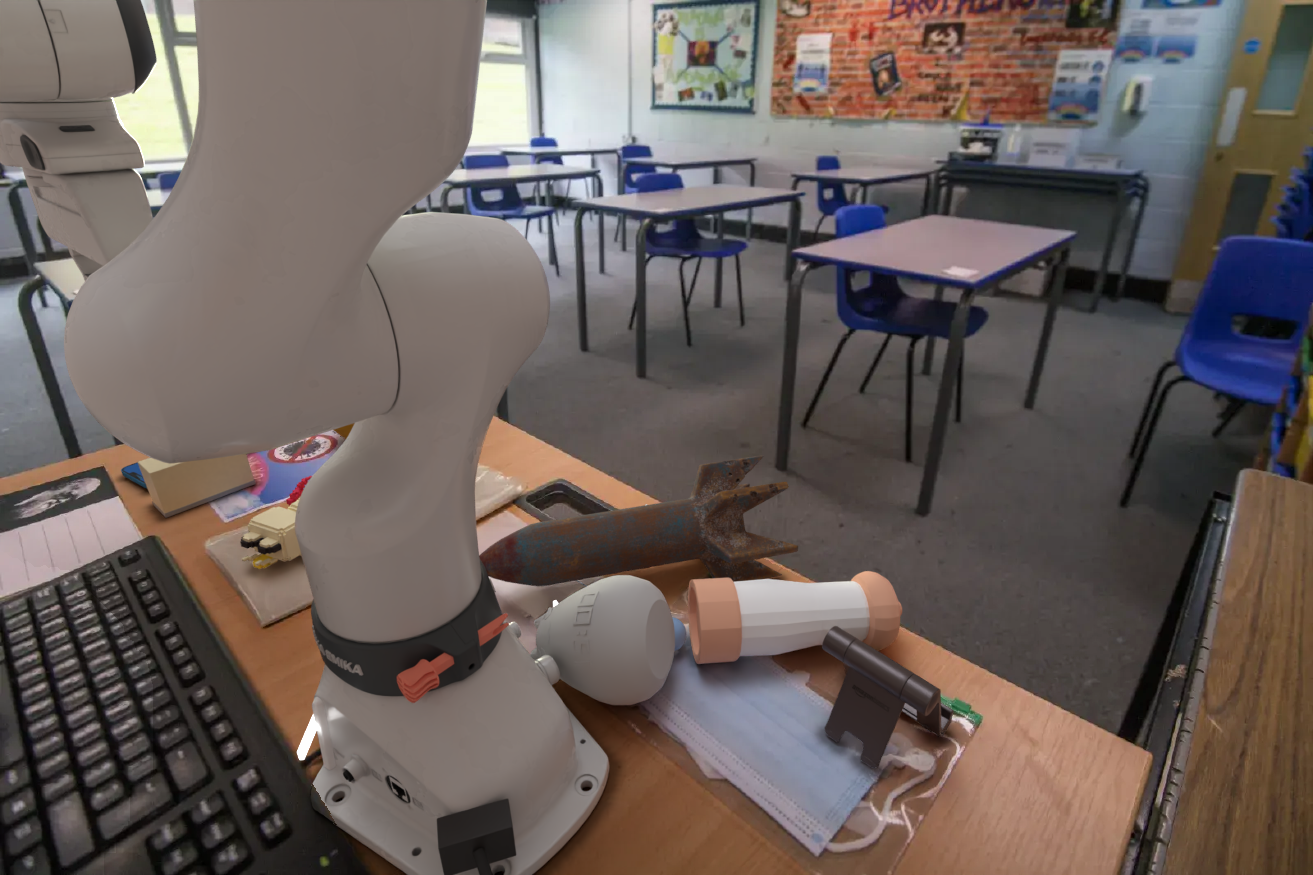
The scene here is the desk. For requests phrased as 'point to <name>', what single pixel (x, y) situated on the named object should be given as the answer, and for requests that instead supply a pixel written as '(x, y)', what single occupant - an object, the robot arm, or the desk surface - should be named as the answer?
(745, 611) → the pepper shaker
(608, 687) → the grey space capsule
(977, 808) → the desk surface
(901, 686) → the tablet stand
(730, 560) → the rusty missile
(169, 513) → the block
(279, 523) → the blocky cream chicken toy
